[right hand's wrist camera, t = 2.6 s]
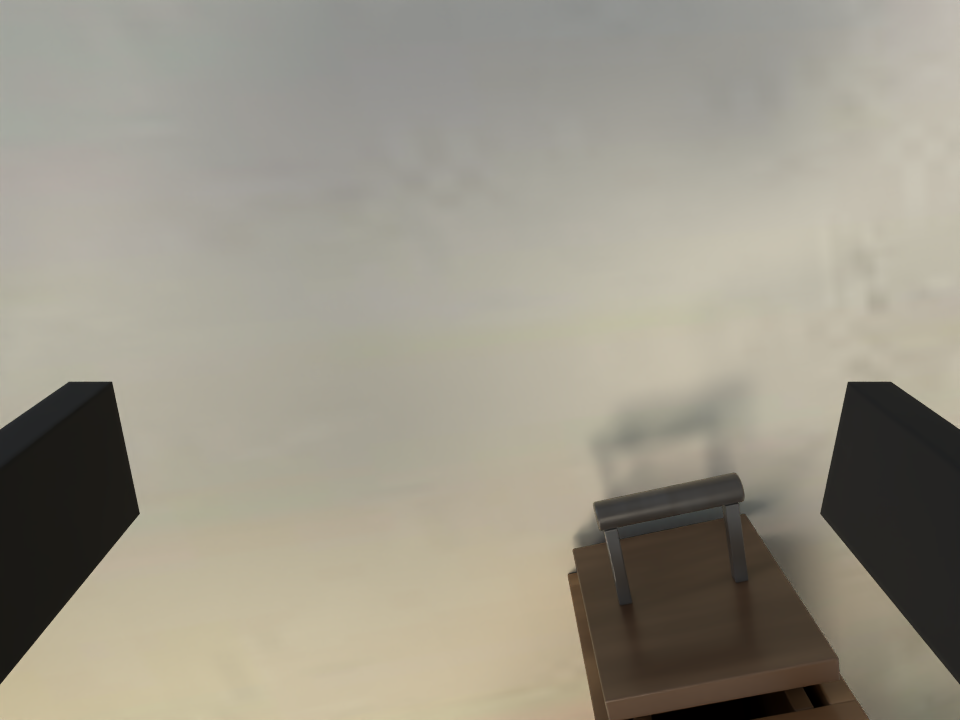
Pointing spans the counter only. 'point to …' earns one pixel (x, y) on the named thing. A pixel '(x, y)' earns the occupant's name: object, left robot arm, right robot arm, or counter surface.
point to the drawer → (696, 613)
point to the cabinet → (831, 716)
